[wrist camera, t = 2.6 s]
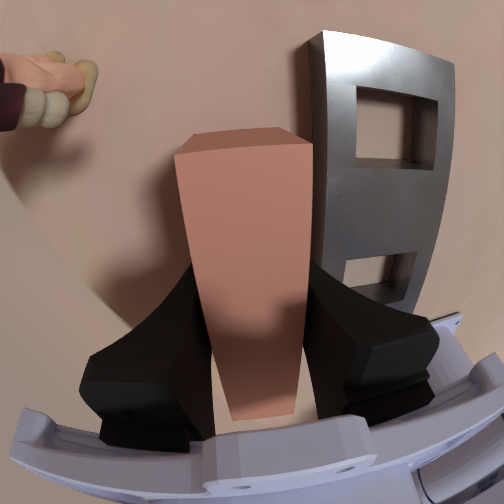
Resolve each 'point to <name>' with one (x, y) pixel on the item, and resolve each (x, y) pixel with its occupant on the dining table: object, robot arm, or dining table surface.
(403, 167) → the slotted metal plate
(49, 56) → the grandmother figurine
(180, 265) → the dining table surface
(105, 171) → the dining table surface
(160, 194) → the dining table surface
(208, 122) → the dining table surface
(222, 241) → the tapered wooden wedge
